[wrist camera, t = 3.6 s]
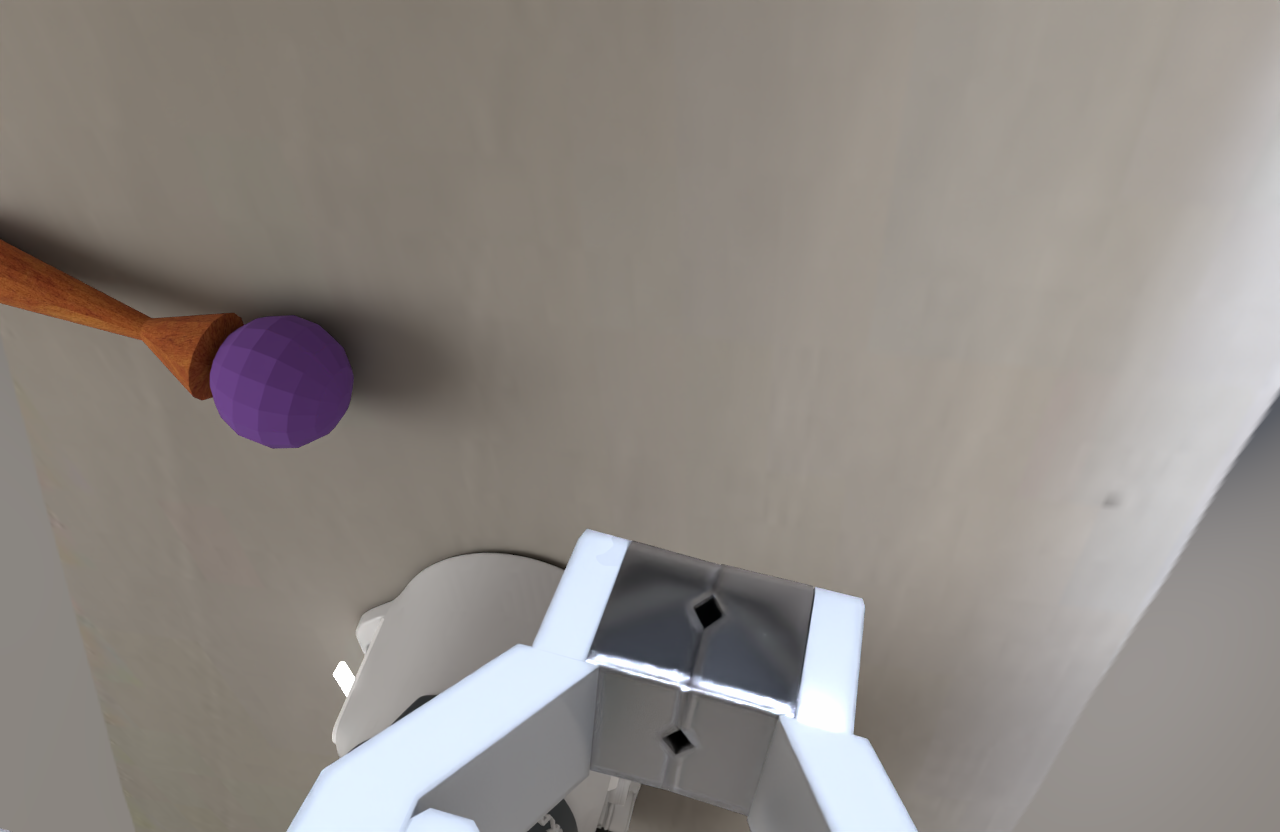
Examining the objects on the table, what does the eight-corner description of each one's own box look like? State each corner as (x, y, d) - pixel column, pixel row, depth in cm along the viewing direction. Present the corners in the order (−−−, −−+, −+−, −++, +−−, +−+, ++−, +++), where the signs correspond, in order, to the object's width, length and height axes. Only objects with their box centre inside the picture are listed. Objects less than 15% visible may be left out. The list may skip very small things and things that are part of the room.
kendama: (-115, 199, 40) (322, 367, 38) (0, 180, 45) (385, 327, 44) (-112, 327, 42) (299, 489, 41) (-3, 295, 47) (362, 436, 46)
